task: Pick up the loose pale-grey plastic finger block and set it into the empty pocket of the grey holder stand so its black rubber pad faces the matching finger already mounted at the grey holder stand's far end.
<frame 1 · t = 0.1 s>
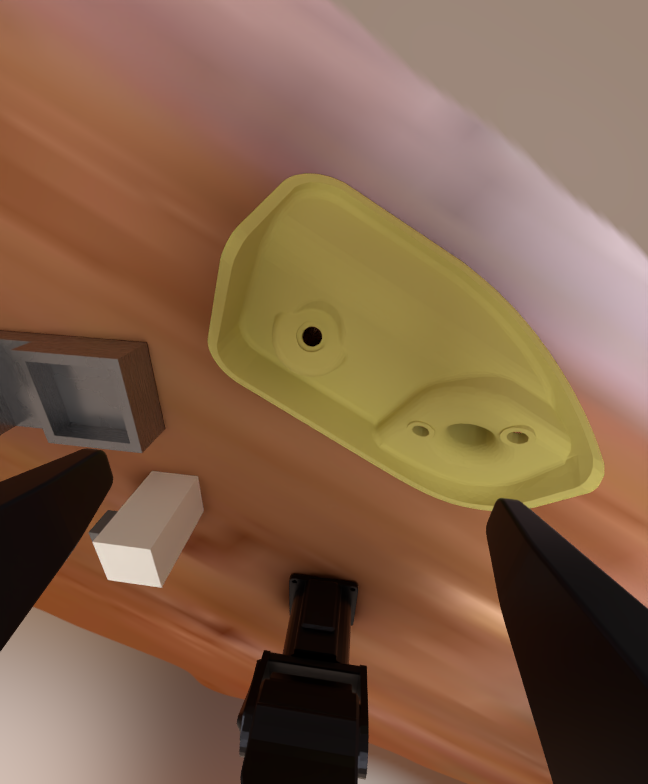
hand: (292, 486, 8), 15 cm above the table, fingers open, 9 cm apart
loose finger: (178, 491, 29), on the table
grey holder stand: (41, 377, 25), on the table
plastic component: (386, 352, 22), on the table
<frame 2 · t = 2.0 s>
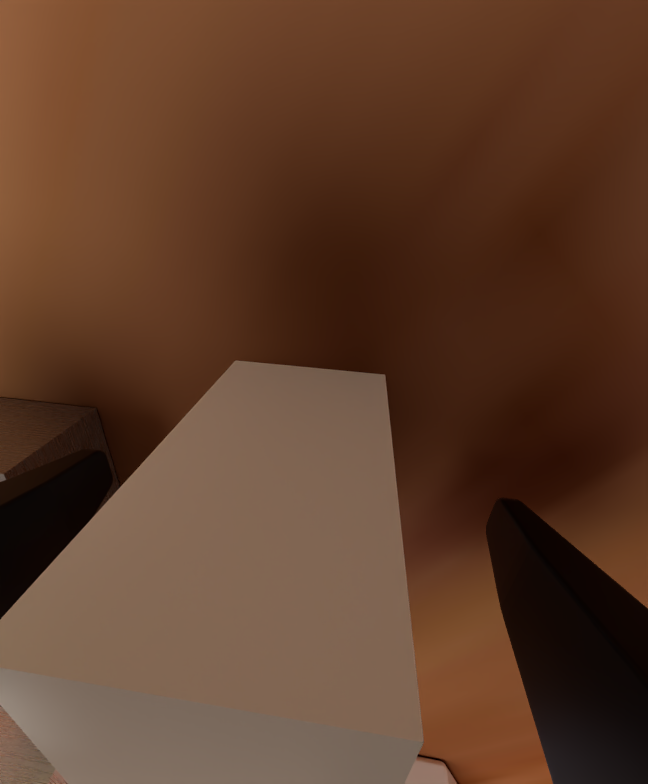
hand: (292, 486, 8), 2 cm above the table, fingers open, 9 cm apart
loose finger: (306, 430, 10), on the table
jar: (390, 770, 21), on the table
grey holder stand: (74, 577, 15), on the table
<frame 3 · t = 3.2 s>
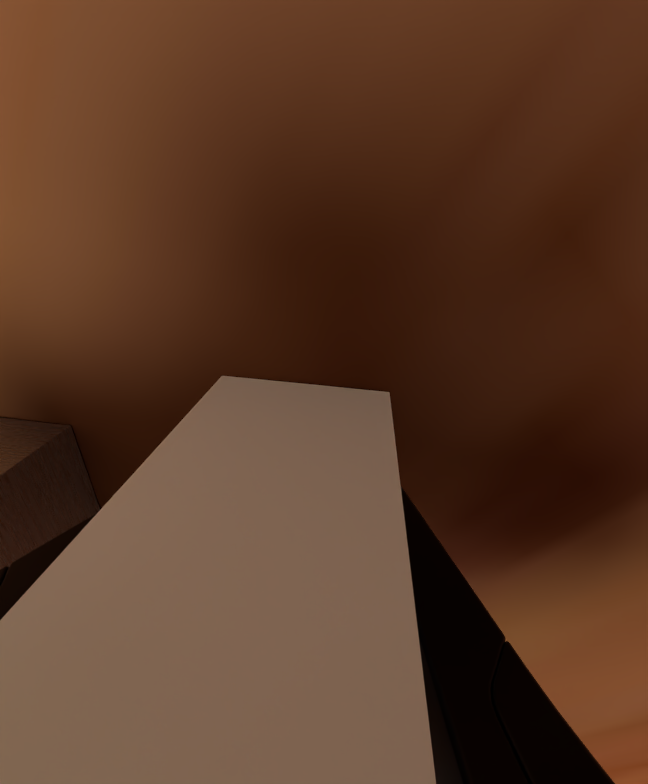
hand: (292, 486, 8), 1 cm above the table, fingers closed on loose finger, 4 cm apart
loose finger: (302, 451, 9), on the table, touching gripper
grey holder stand: (55, 600, 14), on the table
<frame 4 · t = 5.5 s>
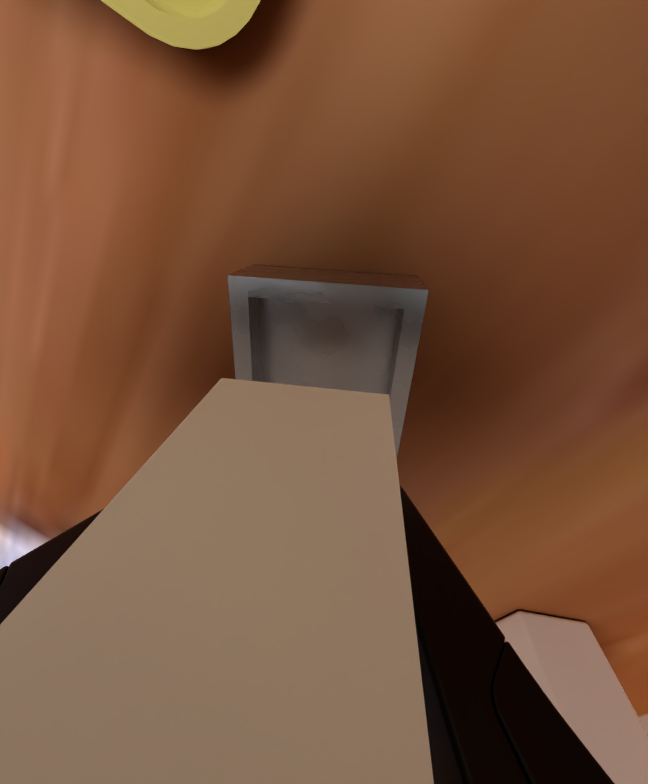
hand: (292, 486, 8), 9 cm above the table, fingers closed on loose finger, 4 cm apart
loose finger: (301, 453, 9), point 8 cm above the table, touching gripper
jar: (528, 642, 25), on the table
grey holder stand: (322, 443, 19), on the table
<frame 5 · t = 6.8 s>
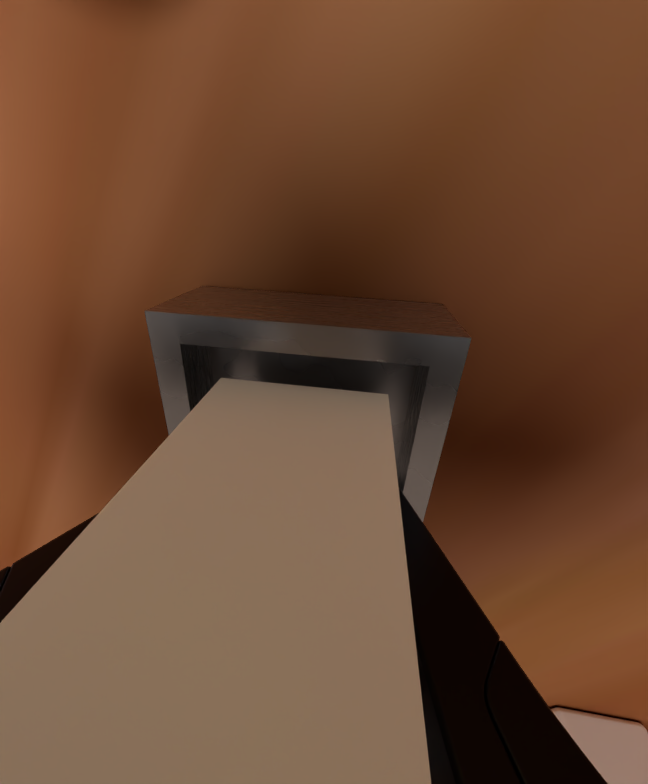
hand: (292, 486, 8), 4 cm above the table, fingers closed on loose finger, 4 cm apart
loose finger: (301, 453, 9), point 3 cm above the table, touching gripper
jar: (565, 736, 20), on the table
grey holder stand: (309, 516, 14), on the table
when the fingers open (4 cm above the table, at t = 7.0 s): loose finger drops 1 cm, resting on grey holder stand.
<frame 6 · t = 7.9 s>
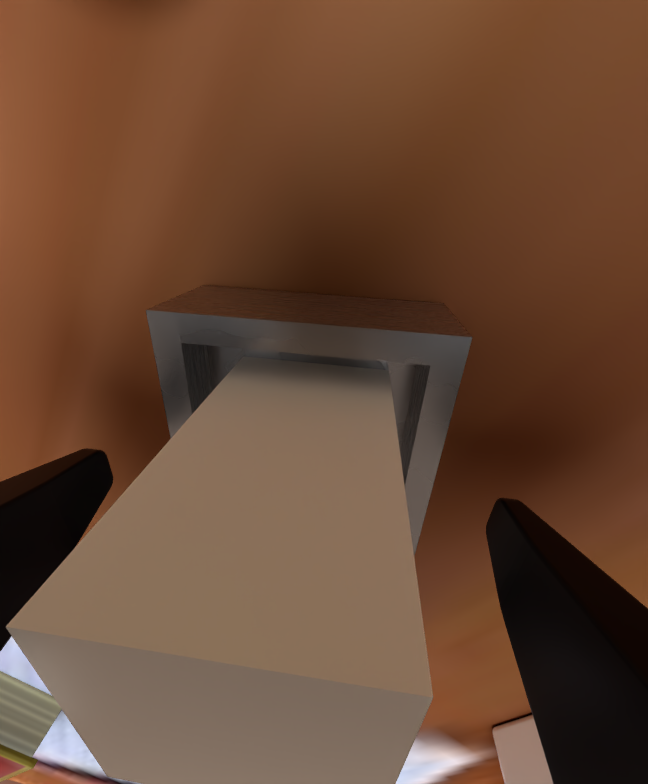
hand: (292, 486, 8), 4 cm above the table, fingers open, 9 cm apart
loose finger: (312, 424, 10), point 1 cm above the table, touching grey holder stand
jar: (565, 736, 21), on the table
grey holder stand: (310, 515, 14), on the table
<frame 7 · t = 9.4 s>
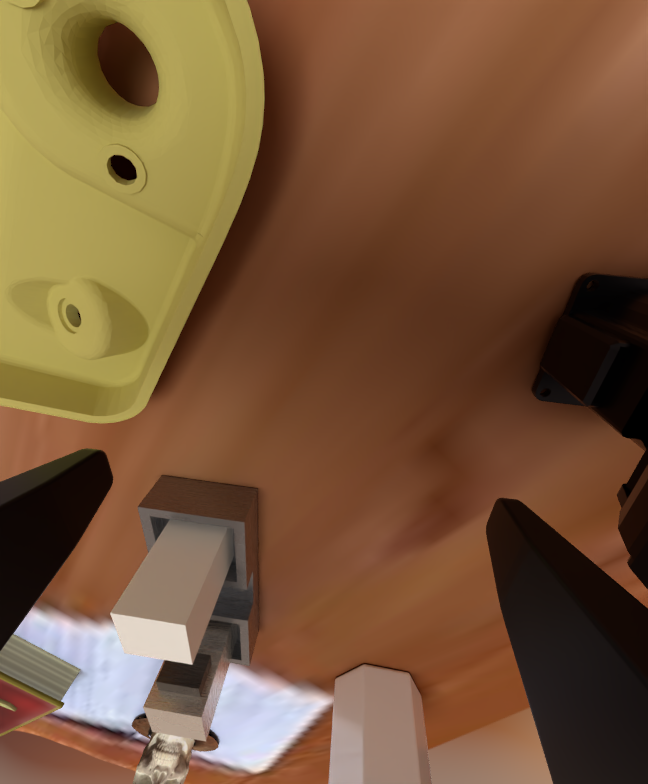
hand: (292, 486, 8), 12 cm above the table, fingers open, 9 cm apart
loose finger: (206, 533, 25), point 1 cm above the table, touching grey holder stand
jar: (377, 683, 35), on the table
grey holder stand: (217, 563, 29), on the table
hardcover book: (9, 663, 44), on the table
skull: (177, 728, 47), on the table
plastic component: (126, 220, 17), on the table
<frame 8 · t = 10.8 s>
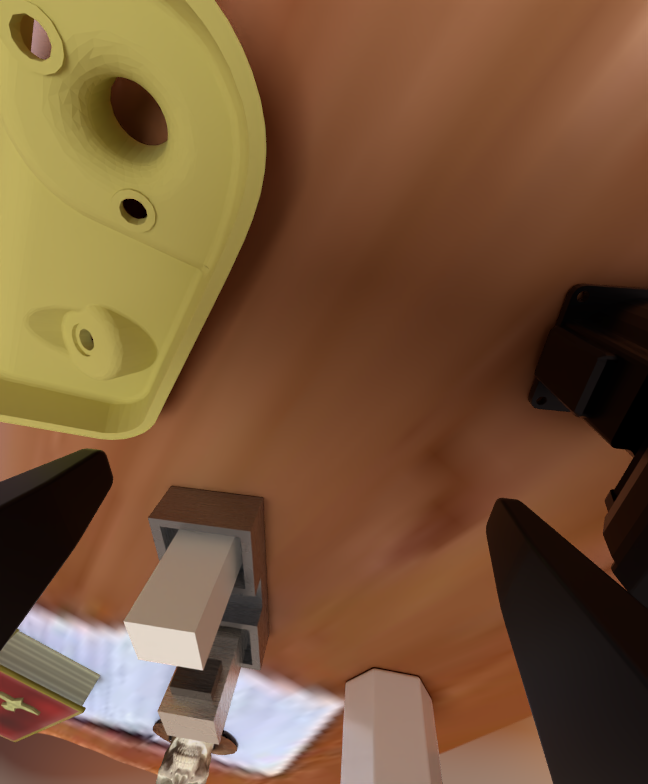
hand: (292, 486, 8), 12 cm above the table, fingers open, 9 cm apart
loose finger: (214, 541, 25), point 1 cm above the table, touching grey holder stand
jar: (388, 687, 36), on the table
grey holder stand: (226, 570, 29), on the table
hardcover book: (31, 668, 45), on the table
skull: (197, 732, 48), on the table
plastic component: (136, 248, 18), on the table
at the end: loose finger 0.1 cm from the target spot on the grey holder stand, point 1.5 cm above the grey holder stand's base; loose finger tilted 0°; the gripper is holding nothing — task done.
